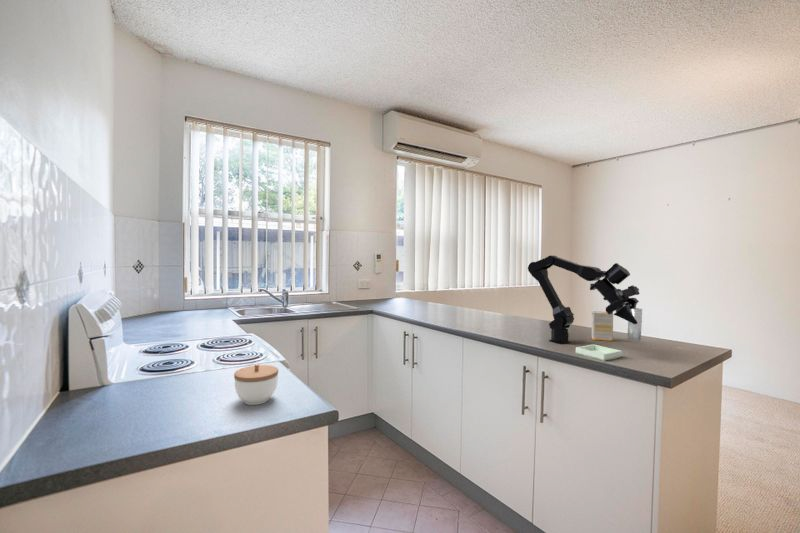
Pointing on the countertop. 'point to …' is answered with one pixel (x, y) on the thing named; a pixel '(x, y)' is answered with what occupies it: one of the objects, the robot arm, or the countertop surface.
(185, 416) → the countertop surface
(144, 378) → the countertop surface
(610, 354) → the tray
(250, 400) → the lidded jar
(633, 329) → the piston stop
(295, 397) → the countertop surface
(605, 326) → the supplement box
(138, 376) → the countertop surface
